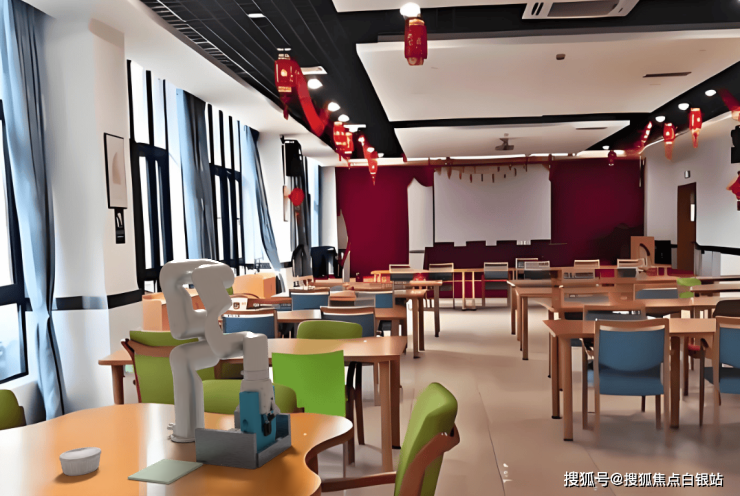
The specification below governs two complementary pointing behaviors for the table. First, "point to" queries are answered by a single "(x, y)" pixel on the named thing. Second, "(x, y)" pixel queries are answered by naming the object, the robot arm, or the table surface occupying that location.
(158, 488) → the table surface
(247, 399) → the block
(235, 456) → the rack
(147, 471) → the mat
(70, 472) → the ramekin
